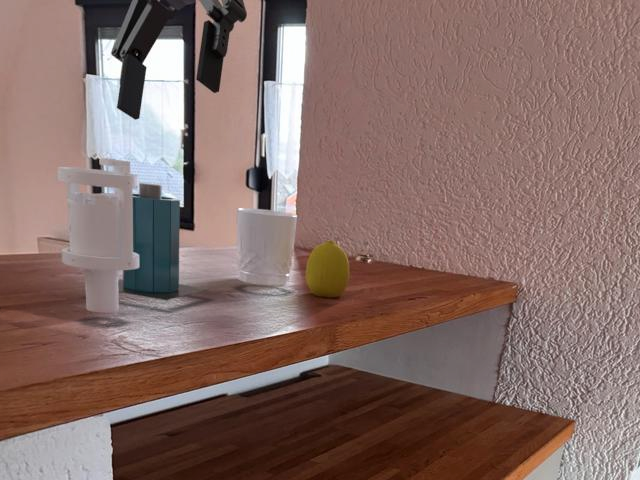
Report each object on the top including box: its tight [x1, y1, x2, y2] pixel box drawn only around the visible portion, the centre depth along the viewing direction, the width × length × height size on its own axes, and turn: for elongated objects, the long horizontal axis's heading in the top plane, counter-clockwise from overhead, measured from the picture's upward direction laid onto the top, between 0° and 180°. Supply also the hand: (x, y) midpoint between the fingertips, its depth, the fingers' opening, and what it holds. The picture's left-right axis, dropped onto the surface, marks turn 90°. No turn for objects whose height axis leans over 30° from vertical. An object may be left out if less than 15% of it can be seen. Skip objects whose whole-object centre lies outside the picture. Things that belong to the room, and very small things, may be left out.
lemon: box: [305, 239, 350, 299], centre depth 93 cm, size 6×6×8 cm
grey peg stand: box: [118, 182, 209, 301], centre depth 83 cm, size 10×10×12 cm
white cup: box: [236, 207, 298, 287], centre depth 98 cm, size 8×8×10 cm
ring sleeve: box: [121, 192, 181, 293], centre depth 83 cm, size 6×6×10 cm
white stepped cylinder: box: [57, 157, 140, 314], centre depth 70 cm, size 7×7×15 cm
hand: (166, 100), depth 83 cm, fingers open, 13 cm apart
